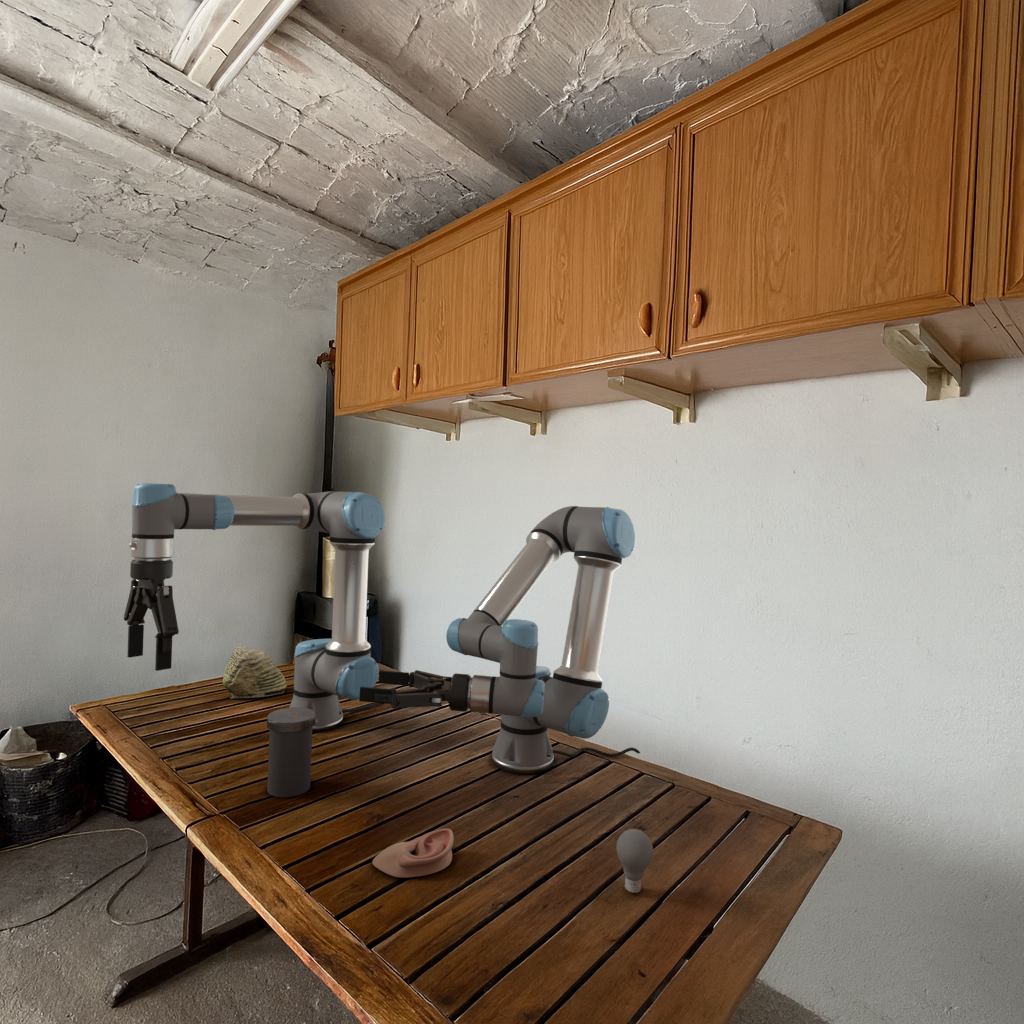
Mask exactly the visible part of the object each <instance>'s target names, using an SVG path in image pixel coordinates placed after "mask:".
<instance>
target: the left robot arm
mask: <svg viewBox="0 0 1024 1024" xmlns="http://www.w3.org/2000/svg"><path fill="white" fill-rule="evenodd" d="M385 515H386V513H385V511H384V508H383V505H382V503H381V502H380V501H379V500H378V498H377V497H375V495H373V494H370V493H367V492H363V491H362V492H361V491H337V490H336V491H335V490H333V491H332V490H330V491H321V492H311V493H295V494H294V495H293V496H276V495H275V496H274V495H273V496H272V495H248V494H247V495H246V494H244V495H243V494H220V493H219V494H218V493H217V494H216V493H215V494H214V493H189V492H187V493H186V492H177V491H176V486H175V485H174V484H173V483H152V482H139V483H137V484H136V485H135V486H134V488H133V492H132V501H131V520H132V521H131V542H130V543H128V547H129V548H130V549H131V550H130V556H131V558H133V559H132V560H131V561H130V567H129V568H130V571H129V574H130V575H129V576H130V578H131V581H130V590H129V594H128V598H127V603H126V607H125V610H124V615H123V621H124V622H126V624H127V626H128V629H127V630H128V631H127V658H135V657H142V656H144V635H145V634H144V630H145V625H144V624H145V623H146V621H145V619H144V618H145V616H146V615H147V612H148V609H149V610H151V613H152V618H153V620H154V624H155V627H156V631H157V633H156V635H155V636H154V638H155V661H154V663H155V665H154V668H155V669H154V670H155V671H157V672H159V671H164V670H169V669H172V659H173V657H172V655H173V637H175V636H176V635H179V632H180V631H179V625H178V619H177V615H176V614H177V613H176V609H175V603H174V597H173V595H174V593H173V585H165V580H167V579H171V578H172V577H173V575H174V573H173V572H174V561H173V560H172V559H171V558H173V557H174V554H175V553H174V552H175V530H213V531H215V530H224V529H228V528H230V526H233V527H234V526H237V527H238V526H240V527H243V526H246V527H247V526H249V527H250V526H258V527H259V526H268V527H269V526H276V527H277V526H282V527H284V526H285V527H286V526H287V527H288V526H289V527H290V526H291V527H293V528H294V529H296V530H308V531H309V530H310V531H316V532H319V533H325V534H329V544H330V545H331V546H332V547H333V548H334V550H335V551H334V572H333V573H334V577H333V599H332V625H331V626H332V627H331V638H317V639H308V640H304V641H300V642H299V643H297V645H296V646H295V650H294V655H293V657H294V672H293V673H294V674H293V695H292V696H293V697H292V699H291V702H290V704H289V707H288V708H293V707H300V708H308V709H311V710H313V711H314V712H315V715H316V723H315V725H314V726H313V728H312V733H316V732H325V731H329V730H332V729H335V728H337V727H339V726H340V725H342V723H343V722H344V714H343V713H350V712H357V711H361V710H365V709H369V708H371V707H375V706H377V705H379V704H380V703H374V702H372V703H370V704H367V705H364V706H359V707H353V708H342V706H341V702H340V699H339V698H341V699H342V700H343V699H344V700H348V701H349V700H350V701H357V700H359V698H360V687H371V688H375V685H376V683H377V682H378V680H379V671H380V670H379V669H380V668H379V665H378V663H377V662H376V660H375V659H374V657H371V652H372V649H371V648H372V644H371V643H370V642H368V640H367V639H366V631H367V607H368V606H367V605H368V604H367V602H368V582H369V581H368V579H369V555H370V553H369V552H370V550H371V548H372V547H374V545H375V544H376V536H378V535H379V534H380V533H381V530H383V528H384V526H385V522H386V521H385V520H386V516H385Z"/></svg>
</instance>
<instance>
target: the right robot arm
mask: <svg viewBox="0 0 1024 1024" xmlns="http://www.w3.org/2000/svg"><path fill="white" fill-rule="evenodd" d="M525 542H526V543H525V545H524V547H522V549H521V550H520V551H519V553H518V554H517V555H516V556H515V558H514V559H513V560H512V561H511V563H510V564H509V565H508V567H507V568H506V569H505V570H504V571H503V573H502V574H501V576H500V577H499V578H498V579H497V581H496V582H495V583H494V584H493V585H492V587H491V588H490V590H489V591H488V592H487V593H486V595H485V596H484V597H483V598H482V600H481V601H480V602H479V604H478V605H477V606H476V607H475V608H474V610H473V611H472V612H471V614H469V617H468V618H466V617H459V618H456V619H453V620H452V621H451V622H450V623H449V625H448V627H447V629H446V635H445V636H446V643H447V645H448V647H449V648H450V649H451V651H453V652H456V653H458V654H461V655H463V656H469V657H474V658H479V659H483V660H487V661H490V662H494V663H497V664H499V676H493V675H486V674H473V676H471V675H470V674H469V673H453V675H452V676H446V675H440V674H435V673H431V672H427V671H423V670H418V669H416V670H414V671H410V672H407V671H405V672H404V671H394V670H379V674H378V684H382V685H394V686H405V687H408V688H411V689H401V690H397V688H395V687H391V688H382V687H380V688H379V687H373V688H371V687H360V698H359V699H358V700H359V702H361V703H363V702H364V703H379V704H386V705H391V709H393V710H395V709H406V708H407V709H409V708H426V707H437V708H440V707H442V705H443V702H448V707H449V708H448V709H449V710H450V711H452V712H462V713H463V712H465V713H466V712H467V711H468V710H469V711H470V713H478V714H479V713H480V715H481V716H485V715H486V714H491V715H500V729H499V732H498V735H497V737H496V740H495V743H494V745H493V748H492V751H491V753H492V754H491V762H492V764H493V765H494V766H495V767H497V768H498V769H500V770H503V771H505V772H509V773H513V774H522V775H529V774H533V775H534V774H539V773H542V772H546V771H548V770H550V769H551V768H552V767H553V766H554V762H555V761H554V759H555V755H554V754H558V755H562V756H565V757H568V758H575V757H577V756H578V755H579V754H580V753H582V752H585V751H587V752H588V751H589V752H593V753H595V754H599V755H601V756H605V757H609V758H614V757H615V758H616V757H620V756H622V755H624V754H626V753H629V752H635V753H636V754H641V751H640V750H639V749H638V748H636V747H628V748H625V749H623V750H621V751H619V752H614V753H612V752H611V753H610V752H604V751H602V750H600V749H597V748H593V747H589V746H587V747H580V748H578V749H577V751H576V752H574V753H568V752H565V751H562V750H557V749H553V748H552V744H551V740H550V735H549V732H548V730H553V731H555V732H559V733H562V734H565V735H568V736H569V737H575V738H579V739H583V740H585V739H586V740H587V739H590V738H592V737H594V736H595V735H596V734H597V733H598V732H599V731H600V730H601V729H602V727H603V725H604V723H605V722H606V719H607V716H608V712H609V708H610V700H609V698H610V697H609V695H608V692H607V691H606V690H604V689H603V688H602V687H603V679H602V677H601V676H600V675H599V672H598V671H599V666H600V665H599V664H600V658H601V652H602V647H603V641H604V640H603V639H604V635H605V628H606V623H607V622H606V621H607V615H608V610H609V603H610V597H611V591H612V586H613V585H612V584H613V578H614V573H615V572H616V571H617V570H618V569H619V568H621V567H622V563H623V559H626V558H628V557H630V556H631V555H632V552H633V551H634V548H635V543H636V532H635V526H634V523H633V521H632V518H631V517H630V515H629V514H628V513H627V512H626V510H623V509H622V508H621V509H620V508H613V507H609V506H607V507H606V506H605V507H601V506H599V507H598V506H578V505H569V506H565V507H564V506H563V507H562V508H559V509H557V510H555V511H553V512H552V513H550V514H549V515H547V516H546V517H544V518H543V519H542V520H541V521H539V523H537V524H536V525H535V526H534V528H532V530H531V531H530V532H529V534H528V535H527V536H526V538H525ZM566 553H573V560H574V561H575V563H576V564H577V573H576V577H575V584H574V588H573V595H572V601H571V607H570V613H569V618H568V625H567V630H566V636H565V641H564V648H563V652H562V653H563V654H562V660H561V665H559V666H558V667H557V668H556V669H554V670H553V674H552V672H551V670H550V668H548V667H547V666H543V665H537V662H538V661H537V660H538V647H539V635H538V634H539V629H538V625H537V623H535V622H534V621H532V620H529V619H528V620H527V619H521V618H511V617H512V615H513V614H514V613H515V611H516V610H517V609H518V607H519V606H520V605H521V603H522V602H523V601H524V599H525V598H526V596H527V595H528V594H529V593H530V591H531V590H532V589H533V588H534V586H535V584H536V583H537V582H538V581H539V580H540V578H541V576H542V575H543V574H544V572H545V571H546V570H547V568H548V567H549V566H550V564H551V563H555V562H557V561H558V560H559V559H560V558H561V556H562V555H564V554H566ZM551 674H552V676H551ZM414 687H416V688H414Z"/></svg>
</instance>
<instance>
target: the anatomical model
mask: <svg viewBox="0 0 1024 1024" xmlns="http://www.w3.org/2000/svg"><path fill="white" fill-rule="evenodd" d="M454 837H455V835H454V832H453V830H452V829H451V828H440V829H437V830H434V831H430V832H427V833H425V834H423V835H420V836H418V837H416V838H414V839H412V840H411V839H410V840H409V841H400V842H397V843H394V844H392V845H390V846H387V847H386V848H385V849H383V850H382V851H380V852H379V853H377V855H376V856H375V857H374V858H373V859H372V865H373V866H374V867H375V868H376V869H378V870H379V871H381V872H382V873H385V874H386V875H389V876H391V877H394V878H399V879H401V878H402V879H405V878H414V877H415V878H416V877H423V876H427V875H431V874H436V873H438V872H440V871H443V870H444V869H446V868H447V867H448V866H450V865H451V863H452V861H453V851H452V849H453V846H454V840H455V839H454Z"/></svg>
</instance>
